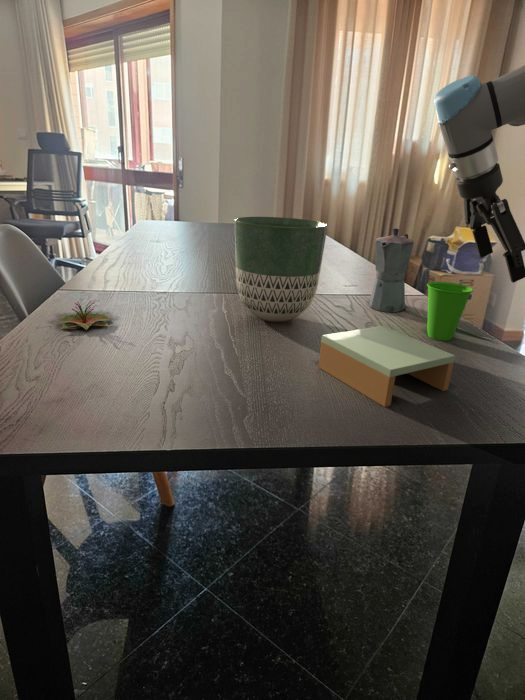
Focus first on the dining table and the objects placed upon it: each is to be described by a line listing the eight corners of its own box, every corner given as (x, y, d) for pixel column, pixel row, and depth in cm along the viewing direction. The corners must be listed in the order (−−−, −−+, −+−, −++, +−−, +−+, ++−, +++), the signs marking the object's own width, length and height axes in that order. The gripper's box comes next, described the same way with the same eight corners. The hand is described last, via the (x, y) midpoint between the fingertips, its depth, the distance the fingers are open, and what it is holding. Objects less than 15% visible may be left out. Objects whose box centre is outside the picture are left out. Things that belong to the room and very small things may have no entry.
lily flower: (54, 316, 99) (51, 295, 97) (113, 313, 103) (112, 293, 101) (52, 335, 88) (49, 312, 87) (118, 331, 93) (116, 308, 91)
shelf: (447, 390, 75) (455, 355, 73) (384, 407, 68) (391, 369, 66) (377, 355, 88) (382, 325, 86) (318, 367, 81) (321, 334, 79)
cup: (452, 347, 95) (463, 294, 91) (410, 335, 100) (419, 285, 96) (468, 337, 101) (479, 288, 97) (428, 327, 107) (437, 279, 103)
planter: (313, 337, 96) (324, 230, 88) (221, 326, 99) (224, 222, 91) (320, 311, 114) (329, 220, 106) (242, 303, 117) (245, 214, 109)
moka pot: (356, 309, 118) (367, 227, 110) (379, 298, 130) (390, 224, 122) (393, 317, 113) (407, 232, 106) (413, 305, 125) (427, 228, 118)
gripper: (432, 167, 97) (458, 253, 107) (488, 196, 76) (514, 300, 86) (467, 149, 96) (490, 238, 106) (534, 173, 74) (556, 281, 85)
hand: (501, 266), depth 96 cm, fingers open, 13 cm apart
